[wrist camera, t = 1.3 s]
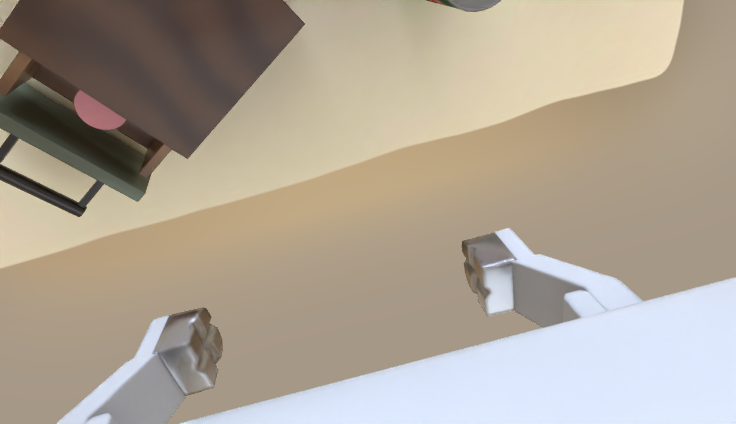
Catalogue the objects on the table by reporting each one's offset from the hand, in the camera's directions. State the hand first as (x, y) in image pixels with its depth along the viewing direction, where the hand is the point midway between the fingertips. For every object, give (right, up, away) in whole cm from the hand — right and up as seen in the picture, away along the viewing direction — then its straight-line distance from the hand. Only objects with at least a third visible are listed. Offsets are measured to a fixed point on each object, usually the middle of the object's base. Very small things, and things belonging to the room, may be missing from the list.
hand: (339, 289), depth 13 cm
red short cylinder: (-23, +14, +25) cm, 36 cm away
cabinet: (-17, +21, +25) cm, 36 cm away
